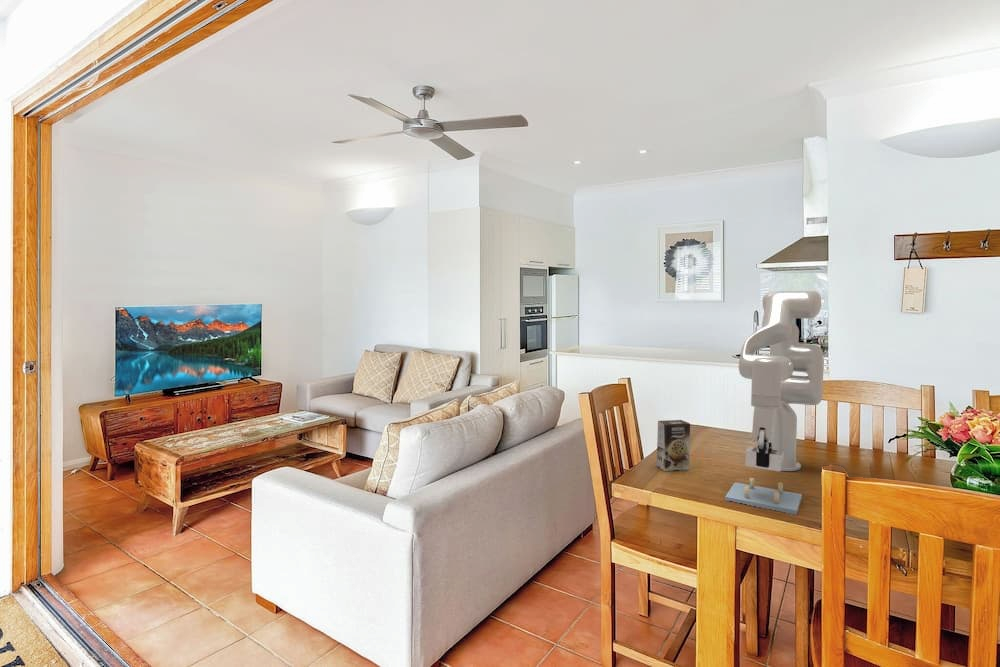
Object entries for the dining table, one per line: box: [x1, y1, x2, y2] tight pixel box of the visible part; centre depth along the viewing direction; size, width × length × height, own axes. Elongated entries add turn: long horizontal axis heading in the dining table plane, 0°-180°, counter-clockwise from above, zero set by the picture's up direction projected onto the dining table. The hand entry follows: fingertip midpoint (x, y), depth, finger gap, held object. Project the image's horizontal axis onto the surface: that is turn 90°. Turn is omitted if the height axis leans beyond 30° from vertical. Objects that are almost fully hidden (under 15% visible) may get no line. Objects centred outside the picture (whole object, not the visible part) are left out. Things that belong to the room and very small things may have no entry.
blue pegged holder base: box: [724, 477, 803, 516], centre depth 151 cm, size 14×18×4 cm
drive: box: [744, 445, 784, 472], centre depth 150 cm, size 6×9×5 cm, turn 55°
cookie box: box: [656, 419, 691, 472], centre depth 179 cm, size 9×6×16 cm
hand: (764, 463), depth 150 cm, fingers closed on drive, 5 cm apart
